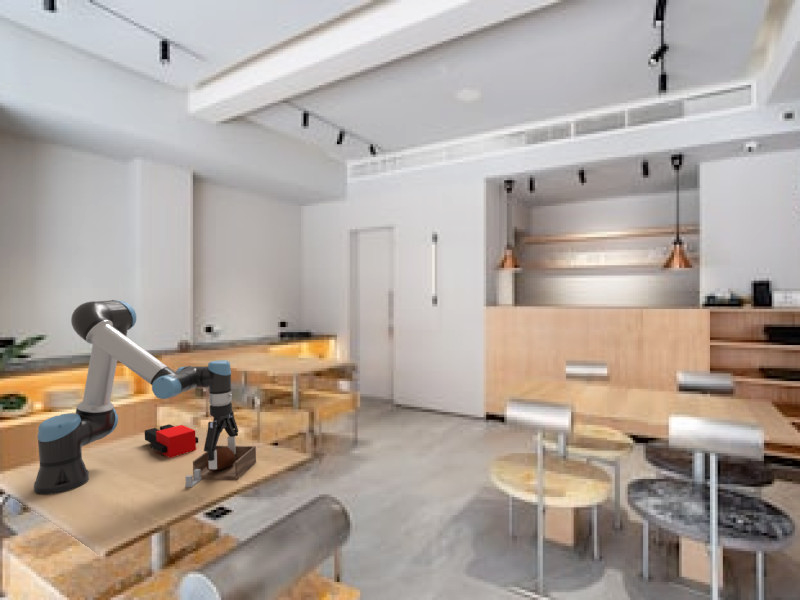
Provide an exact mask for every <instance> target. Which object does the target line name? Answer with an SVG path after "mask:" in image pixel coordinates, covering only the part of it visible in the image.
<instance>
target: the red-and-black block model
mask: <svg viewBox="0 0 800 600" xmlns="http://www.w3.org/2000/svg"><path fill="white" fill-rule="evenodd" d="M144 440H145V441H146V442H147V443H150V445H151V446H150V447H151V448H152V449H153V450H155V451H156V452H158V453H160V454H162V455H164V456H166V457H168V458H169V459H171V457H172V458H174V456H175V457H177V455H178V456H181V455H180V454H182V455H184V453H185V454H188V453H191V452H194V450H195V451H197V444H199V437H197V436H196V430H195V429H193V428H190V427H189V426H185V425H183V424H180V425H176V426H175V425H172V424H169V423H168V424H165V425H162V426H161V425H160V426H159V429H158V428H156V427H154V428H149V429H145V430H144ZM151 448H150V449H151ZM187 452H188V453H187Z"/></svg>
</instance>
